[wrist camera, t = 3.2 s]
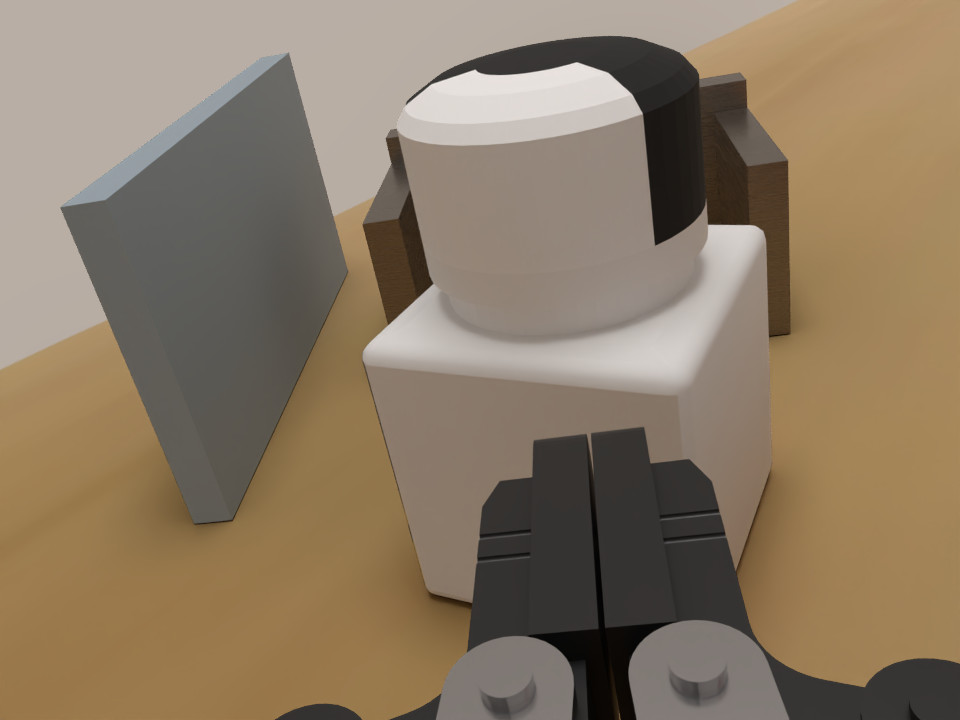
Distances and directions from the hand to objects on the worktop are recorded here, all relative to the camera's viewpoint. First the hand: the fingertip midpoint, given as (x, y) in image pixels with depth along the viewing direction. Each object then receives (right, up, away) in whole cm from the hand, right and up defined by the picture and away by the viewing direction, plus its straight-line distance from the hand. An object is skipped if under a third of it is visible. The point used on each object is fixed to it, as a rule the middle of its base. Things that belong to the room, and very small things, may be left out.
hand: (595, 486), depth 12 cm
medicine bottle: (+2, -3, +11) cm, 12 cm away
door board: (-9, +1, +22) cm, 24 cm away
